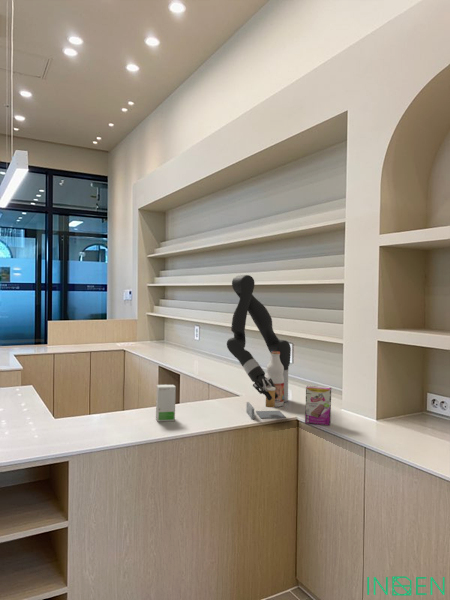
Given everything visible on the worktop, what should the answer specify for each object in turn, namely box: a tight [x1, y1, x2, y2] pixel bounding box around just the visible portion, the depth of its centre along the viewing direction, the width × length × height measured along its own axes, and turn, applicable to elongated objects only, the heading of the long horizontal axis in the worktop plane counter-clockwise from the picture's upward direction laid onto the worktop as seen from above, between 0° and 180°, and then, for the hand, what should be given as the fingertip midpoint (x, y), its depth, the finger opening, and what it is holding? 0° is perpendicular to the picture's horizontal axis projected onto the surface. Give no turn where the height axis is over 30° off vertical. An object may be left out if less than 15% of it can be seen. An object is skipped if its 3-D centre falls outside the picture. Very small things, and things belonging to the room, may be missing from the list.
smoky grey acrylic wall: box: [245, 401, 255, 421], centre depth 212 cm, size 13×1×5 cm, turn 8°
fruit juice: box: [265, 351, 285, 408], centre depth 233 cm, size 9×9×28 cm
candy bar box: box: [304, 385, 332, 426], centre depth 200 cm, size 11×5×16 cm, turn 74°
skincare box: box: [155, 384, 177, 422], centre depth 204 cm, size 8×7×16 cm
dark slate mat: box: [255, 410, 287, 420], centre depth 214 cm, size 12×12×1 cm
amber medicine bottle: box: [265, 387, 276, 409], centre depth 214 cm, size 5×5×9 cm
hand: (273, 398), depth 212 cm, fingers closed on amber medicine bottle, 4 cm apart
